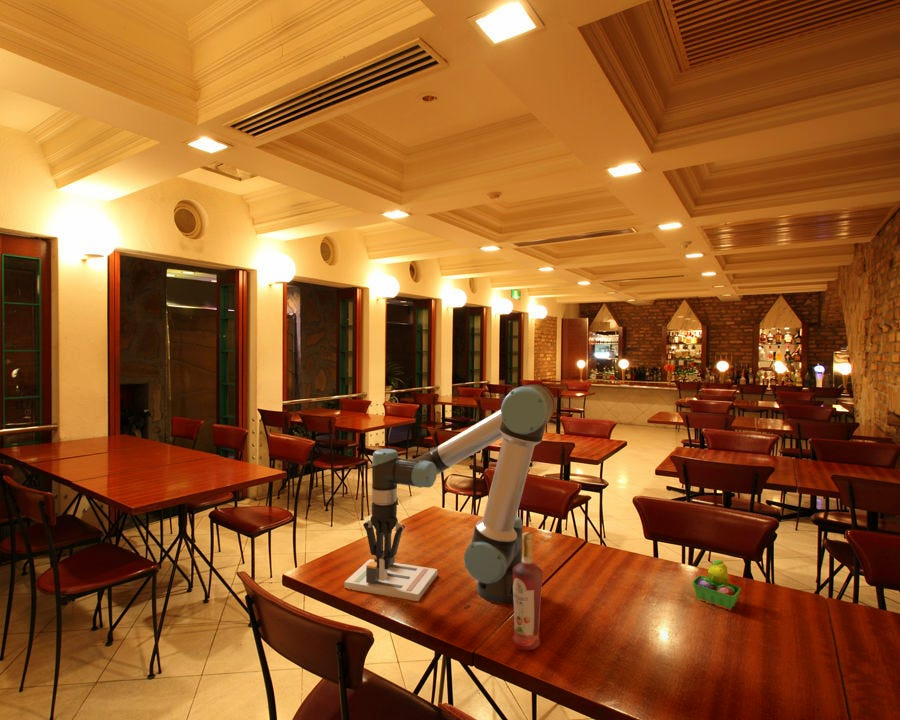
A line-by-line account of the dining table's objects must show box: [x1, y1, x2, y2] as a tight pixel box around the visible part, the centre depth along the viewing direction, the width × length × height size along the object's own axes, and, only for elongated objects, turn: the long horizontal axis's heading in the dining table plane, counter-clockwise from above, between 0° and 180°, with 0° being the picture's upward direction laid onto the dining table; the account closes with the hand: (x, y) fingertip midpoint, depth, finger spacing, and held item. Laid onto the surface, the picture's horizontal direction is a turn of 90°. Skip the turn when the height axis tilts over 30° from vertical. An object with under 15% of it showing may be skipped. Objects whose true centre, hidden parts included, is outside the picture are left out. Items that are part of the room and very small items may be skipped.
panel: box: [344, 558, 438, 602], centre depth 154 cm, size 24×17×2 cm
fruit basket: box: [691, 559, 742, 610], centre depth 144 cm, size 11×9×11 cm
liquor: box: [511, 531, 543, 652], centre depth 121 cm, size 7×7×28 cm
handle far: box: [383, 550, 396, 567], centre depth 161 cm, size 3×3×4 cm
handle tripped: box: [366, 561, 379, 584], centre depth 149 cm, size 3×3×5 cm
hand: (383, 578), depth 148 cm, fingers closed
